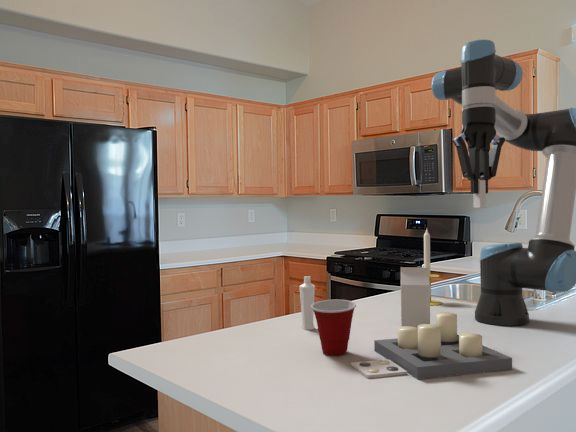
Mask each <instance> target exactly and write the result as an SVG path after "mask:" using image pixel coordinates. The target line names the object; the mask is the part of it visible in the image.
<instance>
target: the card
mask: <svg viewBox="0 0 576 432" xmlns="http://www.w3.org/2000/svg"><path fill="white" fill-rule="evenodd" d="M351 366H352V367H353V368H354V369H355V370H356V371H357V372H359V373H360V374H361V376H364V377H365V378H366V379H373V378H384V377H393V376H404V375H408V373H407V371H406V370H404V369H403V368H401V367H400V366H398V365H397V364H395V363H394V362H392V361H391V360H389V359H379V360H369V361H357V362H351Z"/></svg>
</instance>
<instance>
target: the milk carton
mask: <svg viewBox="0 0 576 432" xmlns="http://www.w3.org/2000/svg"><path fill="white" fill-rule="evenodd" d="M400 317H401V318H400V327H402V326H411V327H416V328H418V325H421V324H431V306H430V282H429V268H424V267H422V266H421V267H417V266H416V267H413V266H412V267H409V266H408V267H403V266H400Z"/></svg>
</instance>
